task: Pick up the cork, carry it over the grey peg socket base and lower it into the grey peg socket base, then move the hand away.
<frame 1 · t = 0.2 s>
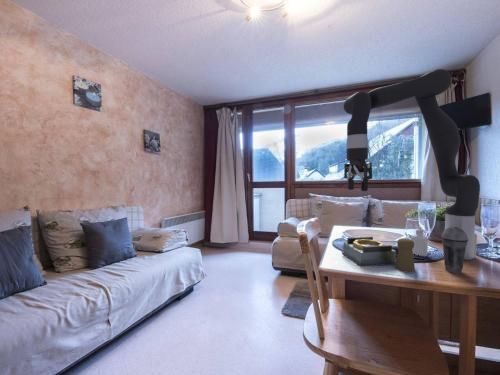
hand: (357, 190, 95), 28 cm above the table, fingers open, 8 cm apart
grey peg socket base: (368, 258, 101), on the table
beverage cup: (453, 271, 87), on the table
cork: (405, 269, 90), on the table
eye dropper bottle: (418, 255, 104), on the table
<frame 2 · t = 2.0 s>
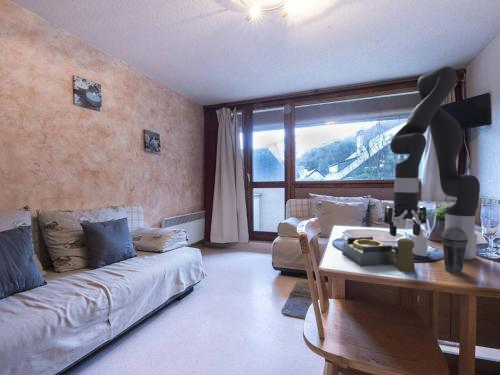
hand: (404, 235, 89), 12 cm above the table, fingers open, 8 cm apart
nothing on the table moved.
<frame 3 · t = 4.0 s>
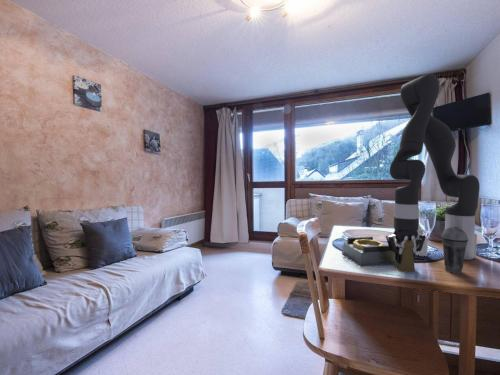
hand: (405, 262, 89), 2 cm above the table, fingers closed on cork, 4 cm apart
cork: (405, 269, 90), on the table, touching gripper
everything else where it was.
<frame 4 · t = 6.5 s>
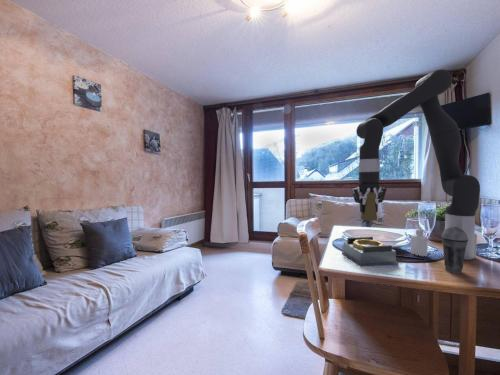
hand: (368, 213, 100), 19 cm above the table, fingers closed on cork, 4 cm apart
cork: (368, 219, 100), point 16 cm above the table, touching gripper
everything else where it was.
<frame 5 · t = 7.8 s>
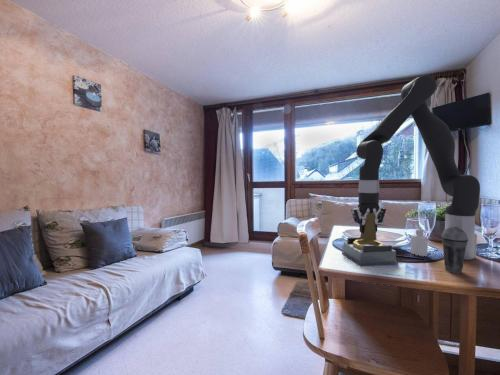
hand: (368, 233, 100), 10 cm above the table, fingers closed on cork, 4 cm apart
cork: (368, 239, 100), point 8 cm above the table, touching gripper
everything else where it was.
when the fingers open (9 cm above the table, at t = 9.0 s): cork drops 1 cm, resting on grey peg socket base.
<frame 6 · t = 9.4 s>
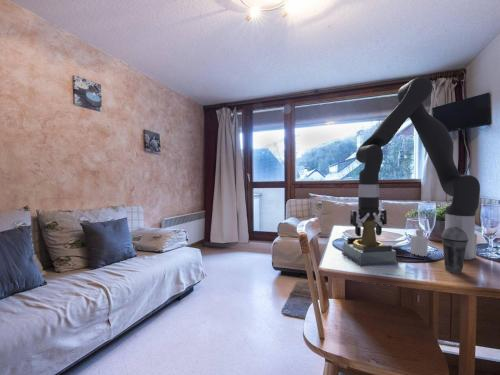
hand: (368, 235, 100), 10 cm above the table, fingers open, 8 cm apart
cork: (368, 246, 101), point 5 cm above the table, touching grey peg socket base
everything else where it was.
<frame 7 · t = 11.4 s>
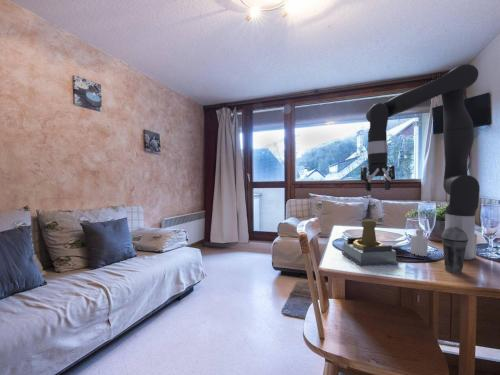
hand: (378, 190, 106), 27 cm above the table, fingers open, 8 cm apart
nothing on the table moved.
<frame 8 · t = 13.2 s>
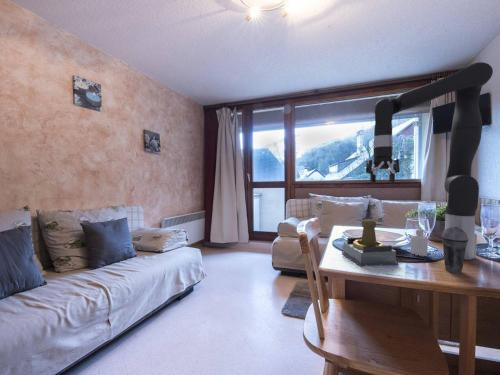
hand: (382, 182, 111), 30 cm above the table, fingers open, 8 cm apart
nothing on the table moved.
at the end: cork 0.2 cm off-centre on the grey peg socket base, point 4.8 cm above the grey peg socket base's base; cork tilted 0°; the gripper is holding nothing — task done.
